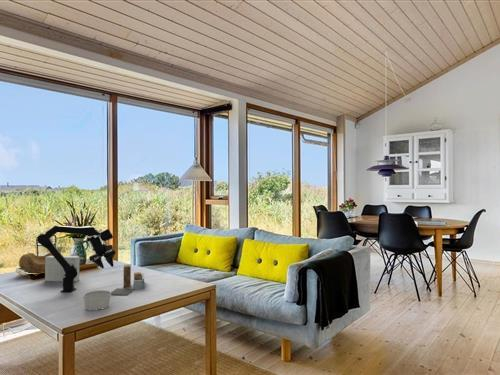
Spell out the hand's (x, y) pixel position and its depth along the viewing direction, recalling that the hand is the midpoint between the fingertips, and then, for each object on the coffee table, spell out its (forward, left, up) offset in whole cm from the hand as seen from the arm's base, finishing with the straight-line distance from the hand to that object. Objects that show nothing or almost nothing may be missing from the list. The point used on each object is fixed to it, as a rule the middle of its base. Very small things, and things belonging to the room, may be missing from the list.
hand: (108, 267), depth 225 cm
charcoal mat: (-11, -14, -12) cm, 21 cm away
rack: (+3, -19, -12) cm, 22 cm away
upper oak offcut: (+3, -18, -8) cm, 20 cm away
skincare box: (+10, +36, -12) cm, 39 cm away
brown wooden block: (+1, -12, -12) cm, 17 cm away
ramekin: (-36, -12, -12) cm, 40 cm away
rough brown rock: (+23, +61, -12) cm, 66 cm away
